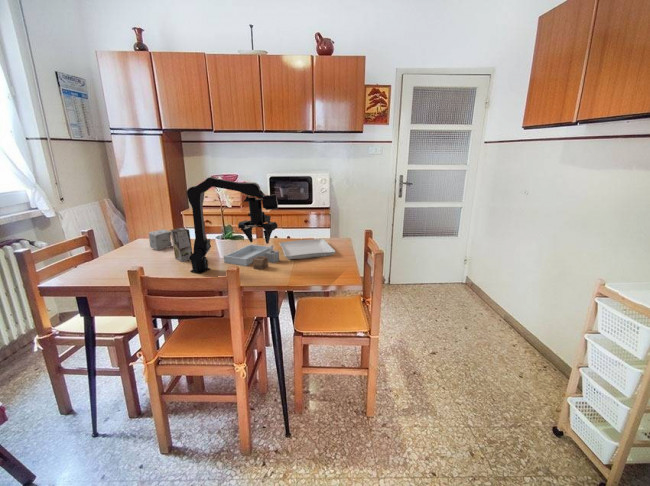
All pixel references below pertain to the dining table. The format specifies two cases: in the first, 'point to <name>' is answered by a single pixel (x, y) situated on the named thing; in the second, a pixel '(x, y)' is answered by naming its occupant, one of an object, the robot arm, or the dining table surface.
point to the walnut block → (260, 262)
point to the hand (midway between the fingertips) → (259, 242)
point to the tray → (246, 255)
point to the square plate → (306, 248)
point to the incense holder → (160, 239)
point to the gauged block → (272, 255)
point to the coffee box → (181, 244)
